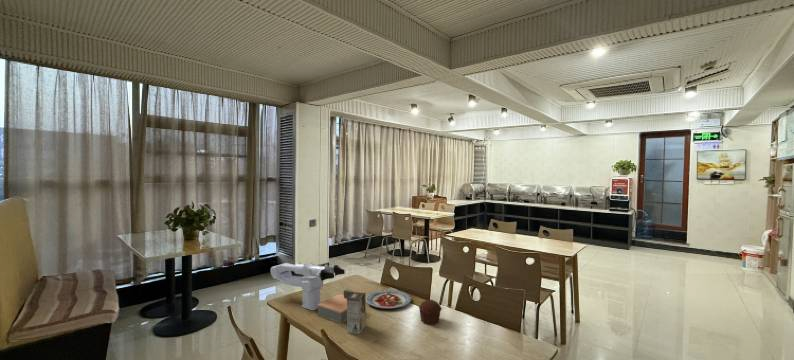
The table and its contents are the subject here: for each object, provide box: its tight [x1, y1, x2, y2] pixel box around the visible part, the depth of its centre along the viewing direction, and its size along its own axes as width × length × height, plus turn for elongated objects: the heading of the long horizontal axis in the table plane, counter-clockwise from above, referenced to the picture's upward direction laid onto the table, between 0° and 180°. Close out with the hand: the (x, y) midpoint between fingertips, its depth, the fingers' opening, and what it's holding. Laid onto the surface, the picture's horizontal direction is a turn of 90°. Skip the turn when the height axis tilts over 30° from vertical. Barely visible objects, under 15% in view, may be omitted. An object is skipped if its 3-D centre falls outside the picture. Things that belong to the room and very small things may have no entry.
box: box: [317, 306, 347, 324], centre depth 174 cm, size 16×16×5 cm
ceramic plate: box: [366, 289, 412, 309], centre depth 190 cm, size 26×26×3 cm
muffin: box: [418, 299, 443, 326], centre depth 167 cm, size 12×11×10 cm
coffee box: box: [346, 291, 367, 335], centre depth 158 cm, size 9×6×16 cm
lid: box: [317, 289, 354, 313], centre depth 174 cm, size 17×17×5 cm
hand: (339, 273), depth 171 cm, fingers open, 7 cm apart
